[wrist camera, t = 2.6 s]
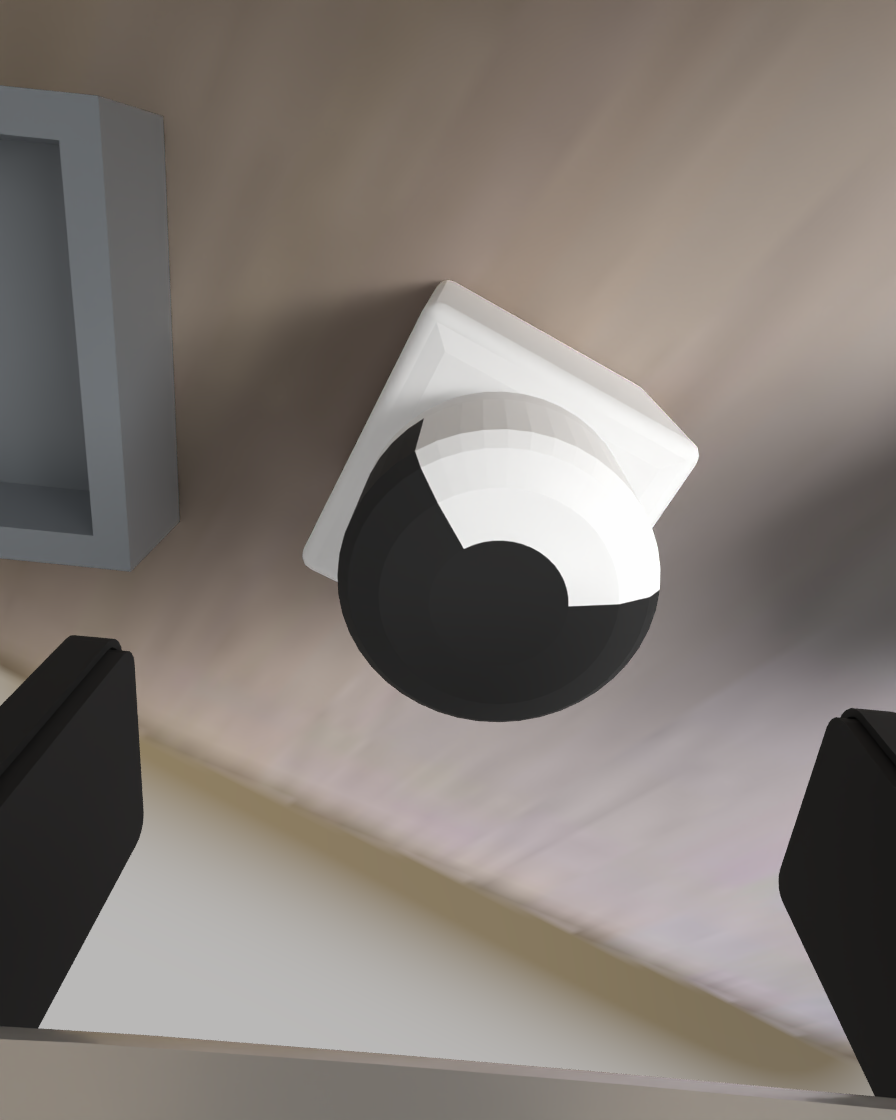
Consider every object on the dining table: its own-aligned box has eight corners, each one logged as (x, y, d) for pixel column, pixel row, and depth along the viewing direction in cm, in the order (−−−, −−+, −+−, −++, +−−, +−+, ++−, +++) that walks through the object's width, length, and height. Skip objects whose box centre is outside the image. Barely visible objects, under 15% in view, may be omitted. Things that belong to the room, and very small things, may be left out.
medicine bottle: (530, 575, 27) (565, 820, 16) (340, 478, 26) (239, 671, 15) (648, 390, 25) (785, 532, 14) (443, 273, 23) (410, 325, 12)
